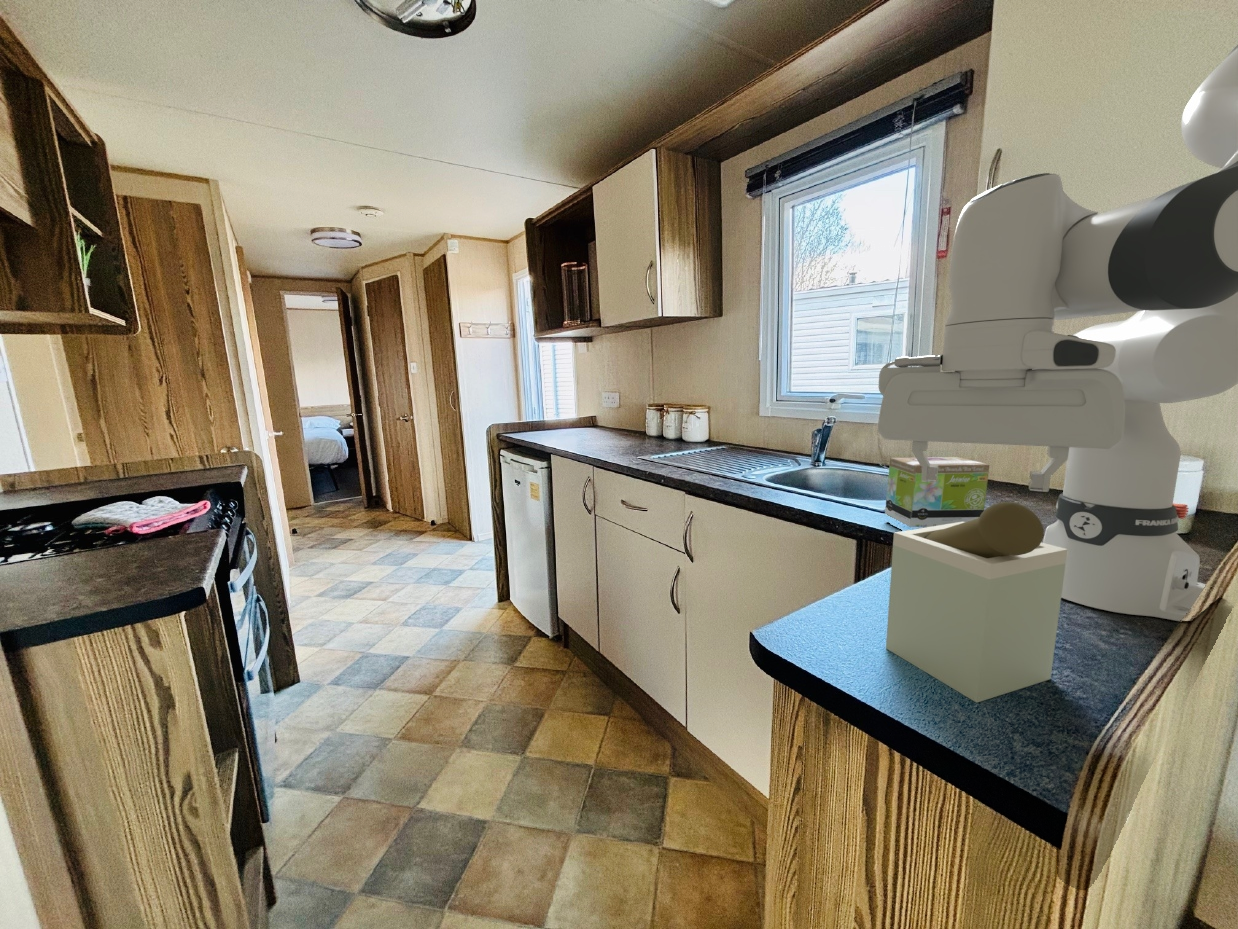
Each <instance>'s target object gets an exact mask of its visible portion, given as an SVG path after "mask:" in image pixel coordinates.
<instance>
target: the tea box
mask: <svg viewBox="0 0 1238 929" xmlns="http://www.w3.org/2000/svg"><path fill="white" fill-rule="evenodd" d="M926 458H927V459H928V461H929V463H930V464H931V465H938V473H937V474H938V478H937V483H935V482H922V481H921V476H922V466H921V465H920V464H919V462H918V460H917V459H916V457H915V456H914V457H890V459H889V465H888V466H889V467H888V475H887V476H888V479H887V487H886V488H887V490H886V497H885V511H884V515H885V514H887V515H888V516H890V517H892V518H894V519H896V520H898V521H900V522H902V523H903V524H906V525H907V526H909V527H923V528H924V527H932V526H938V525H944V524H951V523H957V522H967V521H971V520H974V519H977V518H979V517H980V515H981V514H982V512H983V511H984V510H985V505H986V496H987V490H988V489H987V487H988V479H989V472H990V463H989V464H988V463H985V462H981V461H976V460H971V459H969V458H968V459H967V458H964V457H958V456H947V457H945V456H937V457H936V456H935V457H934V456H932V457H930V456H929V457H927V456H926Z"/></svg>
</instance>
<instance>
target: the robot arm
mask: <svg viewBox="0 0 1238 929" xmlns="http://www.w3.org/2000/svg"><path fill="white" fill-rule="evenodd" d="M1180 130H1181V137H1182V140H1183V143H1184V145H1185V147H1186V148H1187V149H1188V151H1189V152H1190V154H1192V155H1193V156H1194V157H1195V158H1196V159H1198V160H1199V161H1200V162H1203V163H1205V164H1207V165H1209V166H1212V167H1215V168H1219V169H1218V170H1217V171H1215V172H1214V173H1212V174H1210V175H1207V176H1203V177H1201V178H1199V179H1196V180H1193V181H1191V182H1187V183H1185V184H1182V185H1180V186H1179V185H1178V186H1177V187H1175V188H1173V189H1169V190H1168V191H1164V192H1161V193H1159V194H1156V195H1153V196H1150V197H1146V198H1143V199H1141V200H1137V201H1135V202H1134V201H1133V202H1131V203H1128V204H1125V205H1122V206H1119V207H1115V208H1113V209H1109V210H1106V211H1103V212H1100V213H1099V212H1098V211H1095V210H1091V209H1087V208H1086V207H1084V206H1081V205H1080V204H1078V203H1077V202H1075V201H1074V200H1072V198H1070V196H1069V195H1068V194H1067V193H1066V192H1065V191H1064V188H1063V187H1064V186H1063V182H1062V178H1061V176H1060V175H1059V174H1057V173H1050V172H1046V173H1045V172H1044V173H1037V174H1032V175H1031V174H1030V175H1027V176H1022V177H1020V178H1016V179H1013V180H1012V181H1011V180H1010V181H1008V182H1005V183H1001V184H999V185H996V186H994V187H992V188H990V189H987V190H985V191H984V192H982V193H980V194H978V195H976V196H974V197H973V198H972V199H970V201H968V202H967V204H965V206H964V207H963V209H962V210H961V213H960V215H959V218H958V221H957V223H956V227H955V231H954V236H953V240H952V246H951V254H950V262H949V271H948V272H949V273H948V287H949V292H950V297H951V298H950V300H951V303H950V304H951V305H950V310H949V313H948V315H947V317H946V319H945V324H944V336H943V337H944V338H943V346H942V348H943V349H942V354H940V355H938V354H937V355H922V356H917V357H916V356H914V357H909V356H901V357H895V359H894V360H892V361H889V362H888V363H886V364H885V365H883V366H882V368H881V369H880V371H879V376H878V391H879V393H880V395H881V396H882V400H881V405H880V409H879V416H878V423H877V432H878V434H879V435H880V437H882V439H883V440H887V441H904V442H905V441H906V442H907V441H910V442H912V445H911V452H912V454H913V455H914V458H915V457H916V459H917V460H918V462H919V464H920V465H921V466H922V476H921V481H922V482H935V483H937V478H938V474H937V473H938V465H931V464H930V463H929V461H928V459H927V458H926V457H927V455H926V454H925V452H926V451H927V450H928V449H929V442H930V443H931V442H932V443H934V442H935V443H952V444H953V443H955V444H956V443H957V444H958V443H959V444H979V445H980V444H982V445H984V444H985V445H1003V446H1005V445H1006V446H1026V447H1027V446H1029V447H1047V452H1046V454H1047V456H1048V457H1049V458H1051V459H1050V460H1049V461H1048V462H1047V463H1046V465H1045V466H1043V468H1042V469H1041V470H1040V471H1036V470H1032V471H1031V470H1030V471H1029V472H1030V473H1029V479H1030V480H1029V482H1028V489H1029V491H1035V492H1043V493H1044V492H1046V493H1049V490H1050V483H1051V477H1052V476H1053V475H1054V474H1055V473H1056V472H1057V471H1058V470H1059V469H1061V467H1062V466H1063V465H1064V464H1066V465H1065V474H1064V483H1063V490H1062V491H1063V492H1061V493H1060V494H1059V495H1058V500H1057V501H1056V505H1055V506H1056V511H1055V513H1056V514H1055V517H1056V518H1057V520H1056V521H1055V522H1054V523H1051V524H1049V525H1048V526H1047V527H1046V528H1045V531H1044V536H1043V539H1042V543H1046V544H1049V545H1053V546H1057V547H1061V548H1064V549H1068V550H1067V557H1066V565H1065V572H1064V580H1063V588H1062V595H1061V599H1063V600H1067V601H1071V602H1073V603H1076V604H1079V605H1084V606H1086V607H1090V608H1094V609H1098V610H1104V611H1108V612H1113V613H1118V614H1126V615H1135V616H1146V617H1155V618H1160V619H1167V620H1169V621H1170V620H1171V621H1176V622H1181V621H1180V620H1181V619H1182V618H1183V617H1184V616H1185V615H1186V613H1188V611H1189V610H1190V608H1191V607H1192V605H1193V604H1194V602H1195V601H1196V599H1197V597H1199V595H1200V593H1201V592H1202V591H1203V588H1204V587H1205V585H1206V584H1205V583H1202V582H1199V581H1198V578H1199V571H1200V570H1199V569H1200V563H1201V562H1200V561H1201V559H1200V555H1199V553H1197V552H1196V551H1195V550H1194V549H1193V548H1192V547H1191V546H1190V545H1189V544H1188V543H1187V542H1186V541H1184V539H1183V538H1182V537H1181V536H1179V534H1178V533H1176V532H1178V531H1179V525H1178V524H1179V523H1178V522H1179V520H1180V519H1182V520H1183V519H1186V518H1187V515H1188V514H1189V513H1188V512H1189V510H1190V509H1189V506H1188V504H1183V503H1182V504H1181V503H1174V497H1175V492H1176V484H1177V479H1178V473H1179V467H1180V461H1181V456H1182V454H1181V453H1182V450H1181V447H1180V445H1179V443H1178V441H1177V440H1176V439H1175V437H1173V436H1172V434H1171V433H1170V432H1169V429H1168V428H1167V426H1166V423H1165V420H1164V417H1163V413H1162V409H1161V404H1173V403H1175V404H1176V403H1182V402H1187V401H1193V400H1200V399H1203V398H1208V397H1213V396H1216V395H1219V394H1222V393H1225V392H1226V391H1228V390H1230V389H1232V388H1233V387H1235V386H1236V385H1238V44H1236V46H1234V48H1233V49H1232V50H1231V51H1230V53H1228V55H1227V56H1226V57H1225V58H1224V60H1222V62H1220V63H1219V65H1218V66H1216V68H1214V70H1212V72H1210V73H1209V75H1208V76H1207V77H1206V78H1205V79H1204V80H1203V81H1202V83H1201V84H1200V85H1199V86H1198V87H1197V89H1196V90H1195V92H1194V93H1193V95H1192V96H1191V98H1190V99H1189V100H1188V102H1187V104H1186V106H1185V107H1184V110H1183V112H1182V115H1181V123H1180ZM1134 312H1135V313H1134ZM1127 313H1134V314H1133V315H1131V317H1128V318H1127V319H1125V320H1119V321H1118V320H1117V321H1112V322H1111V321H1110V322H1105V323H1100V324H1095V325H1092V326H1090V327H1087V328H1084V329H1082V330H1080V331H1078V332H1076V333H1073V335H1071V334H1067V335H1066V334H1061V333H1056V332H1055V330H1054V325H1055V324H1054V323H1055V321H1060V320H1063V321H1064V320H1072V319H1080V318H1081V319H1082V318H1090V317H1091V318H1092V317H1093V318H1094V317H1104V316H1111V315H1121V314H1127ZM891 366H894V367H891ZM1065 462H1066V463H1065Z"/></svg>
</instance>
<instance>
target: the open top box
mask: <svg viewBox="0 0 1238 929" xmlns="http://www.w3.org/2000/svg"><path fill="white" fill-rule="evenodd" d="M961 523H964V522H957V523H951V524H944V525H938V526H932V527H925V528H919V529H913V530H906V531H901V530H899V531H896V532H893V540H892V541H893V542H892V552H891V554H892V556H891V569H890V570H891V571H890V581H889V583H890V585H889V586H890V587H889V596H888V610H887V611H888V612H887V613H888V614H887V626H886V628H887V629H886V639H885V649H886V650H888V651H890V652H892V653H893V654H895V655H896V656H898V657H900V658H901V659H903V660H905V661H906V662H908V663H910V664H912V665H914V667H916V668H917V669H920V670H921V671H923V672H925V673H926V674H928V675H929V676H930V677H933V678H935V679H936V680H938V681H940V682H941V683H943V684H944V685H946V686H949V688H952V689H953V690H955V691H956V692H957V693H960V694H961V695H963V696H965V697H966V698H968V699H969V700H971V701H973V702H974V703H976V704H977V703H980V702H983V701H987V700H989V699H992V698H996V697H998V696H1002V695H1005V694H1008V693H1011V692H1014V691H1017V690H1022V689H1025V688H1028V687H1030V686H1033V685H1037V684H1039V683H1042V682H1046V681H1048V680H1051V678H1052V671H1053V663H1054V656H1055V655H1054V654H1055V647H1056V640H1057V634H1058V633H1057V632H1058V624H1059V617H1060V610H1061V601H1062V598H1061V595H1062V588H1063V580H1064V572H1065V565H1066V557H1067V550H1068V549H1064V548H1061V547H1057V546H1053V545H1049V544H1046V543H1043V541H1041V544H1040V545H1039V546H1038V547H1037V548H1035V549H1034V550H1033V551H1032V552H1029V553H1026V554H1022V555H1015V556H1013V555H1007V556H997V557H992V558H984V557H981V556H978V555H975V554H972V553H968V552H965V551H962V550H959V549H956V548H953V547H950V546H947V545H944V544H941V543H937V542H934V541H931V540H928V539H925V538H924V537H926V536H927V535H928V534H930V533H933V532H936V531H939V530H942V529H946V528H949V527H952V526H955V525H958V524H961Z"/></svg>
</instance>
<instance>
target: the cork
mask: <svg viewBox="0 0 1238 929" xmlns="http://www.w3.org/2000/svg"><path fill="white" fill-rule="evenodd" d="M1044 536H1045V530H1044V526H1043V523H1042V522H1041V520H1040V518H1039V516H1037V514H1036V513H1035V512H1034V511H1033V510H1031V509H1030V508H1028V507H1027V506H1025V505H1023V504H1021V503H1019V502H1012V501H1001V502H997V503H993V504H992V505H990V506H988V507H987V508H984V511H983V512H982V514H981V515H980V517H979V518H977V519H974V520H971V521H967V522H964V523H961V524H958V525H955V526H952V527H949V528H946V529H942V530H939V531H936V532H933V533H930V534H928V535H927V536H926V537H924V538H925V539H928V540H931V541H934V542H937V543H941V544H944V545H947V546H950V547H953V548H956V549H959V550H962V551H965V552H968V553H972V554H975V555H978V556H981V557H984V558H992V557H997V556H1007V555H1013V556H1015V555H1022V554H1026V553H1029V552H1032V551H1033V550H1034V549H1035V548H1037V547H1038V546H1039V545H1040V544H1041V542H1043V540H1044Z"/></svg>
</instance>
